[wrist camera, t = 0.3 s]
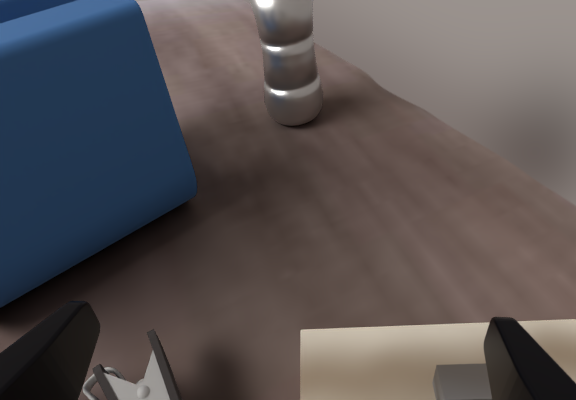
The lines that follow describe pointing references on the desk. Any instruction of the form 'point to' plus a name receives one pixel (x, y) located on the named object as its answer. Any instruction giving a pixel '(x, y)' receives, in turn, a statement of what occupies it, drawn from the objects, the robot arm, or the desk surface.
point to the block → (80, 136)
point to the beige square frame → (414, 360)
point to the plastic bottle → (288, 60)
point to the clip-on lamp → (147, 392)
